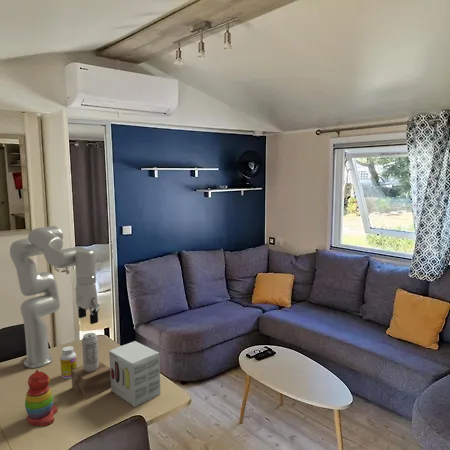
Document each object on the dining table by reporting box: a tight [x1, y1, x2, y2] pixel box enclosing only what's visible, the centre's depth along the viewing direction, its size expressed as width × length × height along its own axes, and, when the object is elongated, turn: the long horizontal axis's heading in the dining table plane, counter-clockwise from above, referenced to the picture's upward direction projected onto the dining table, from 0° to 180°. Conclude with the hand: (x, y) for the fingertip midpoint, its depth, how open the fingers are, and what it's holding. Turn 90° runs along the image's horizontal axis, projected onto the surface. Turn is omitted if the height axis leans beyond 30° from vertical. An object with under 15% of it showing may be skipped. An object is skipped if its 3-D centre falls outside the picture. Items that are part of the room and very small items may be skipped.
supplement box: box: [108, 340, 162, 408], centre depth 167 cm, size 17×13×18 cm
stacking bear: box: [24, 369, 59, 427], centre depth 151 cm, size 11×10×18 cm
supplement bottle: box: [59, 345, 78, 380], centre depth 182 cm, size 7×7×13 cm
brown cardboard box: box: [71, 360, 111, 399], centre depth 172 cm, size 12×12×8 cm
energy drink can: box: [81, 332, 99, 372], centre depth 171 cm, size 6×6×15 cm
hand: (88, 320), depth 169 cm, fingers open, 9 cm apart
